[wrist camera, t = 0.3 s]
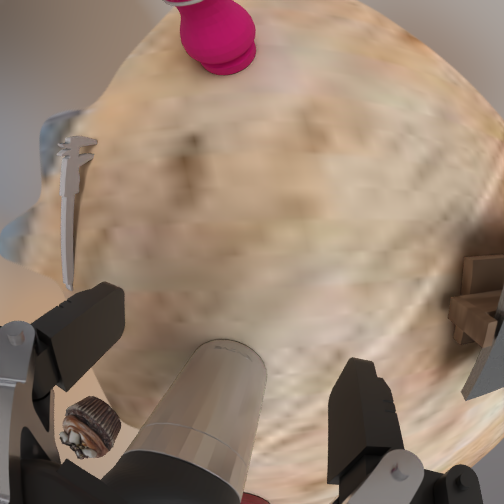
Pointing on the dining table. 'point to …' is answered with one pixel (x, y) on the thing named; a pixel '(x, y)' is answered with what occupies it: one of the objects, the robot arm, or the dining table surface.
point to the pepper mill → (217, 34)
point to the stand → (478, 300)
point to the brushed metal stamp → (488, 362)
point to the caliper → (70, 198)
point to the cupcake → (90, 428)
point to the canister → (252, 499)
